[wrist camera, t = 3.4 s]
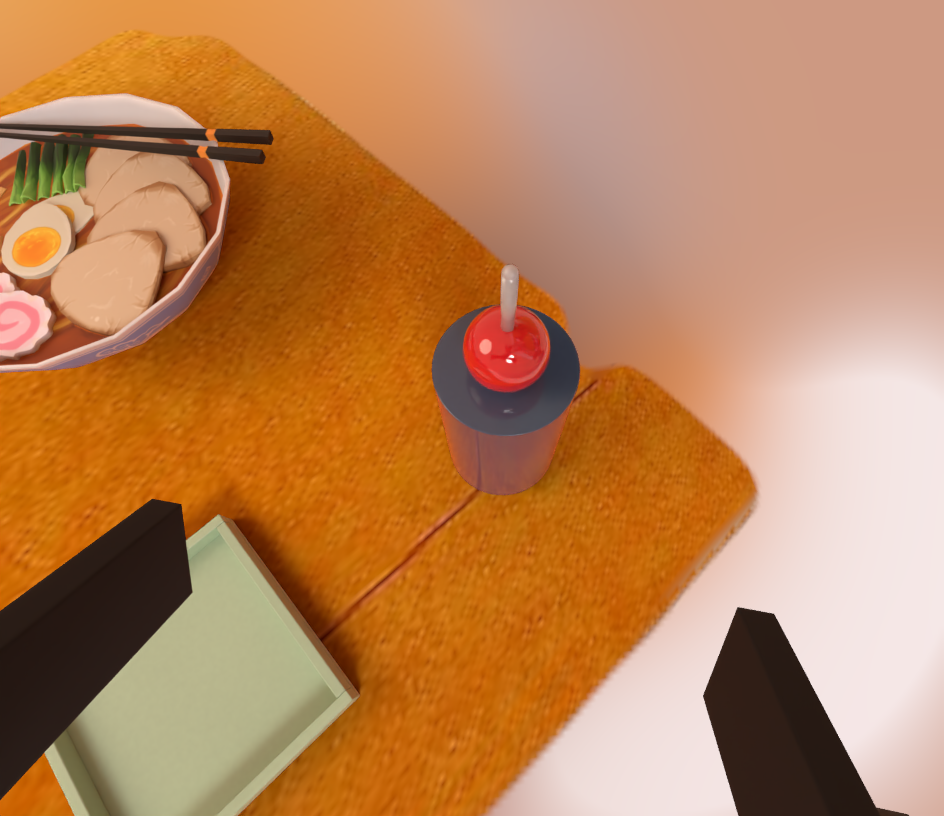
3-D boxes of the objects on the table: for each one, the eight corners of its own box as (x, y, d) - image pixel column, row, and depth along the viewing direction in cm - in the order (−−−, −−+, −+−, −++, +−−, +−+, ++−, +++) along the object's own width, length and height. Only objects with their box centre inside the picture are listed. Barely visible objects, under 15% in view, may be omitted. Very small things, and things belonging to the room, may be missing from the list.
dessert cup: (564, 485, 33) (639, 337, 16) (458, 503, 33) (422, 373, 16) (541, 388, 35) (584, 176, 19) (442, 405, 35) (397, 206, 19)
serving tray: (360, 695, 29) (352, 699, 27) (148, 902, 25) (125, 921, 24) (232, 519, 33) (218, 513, 31) (36, 678, 30) (9, 681, 28)
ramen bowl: (-103, 396, 37) (-255, 337, 29) (48, 161, 46) (-40, 69, 38) (228, 445, 35) (155, 394, 27) (321, 187, 43) (285, 95, 36)
